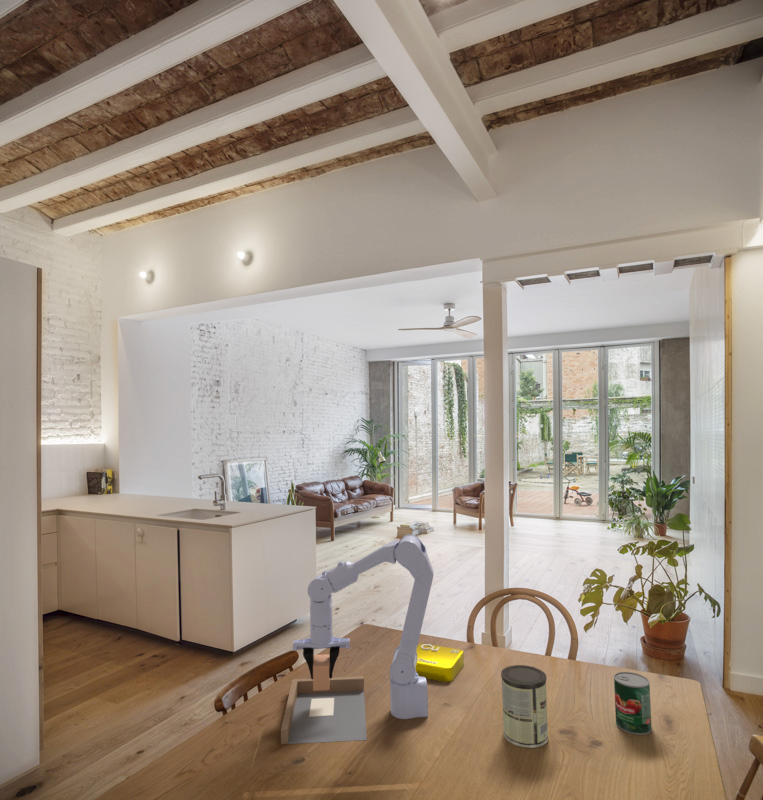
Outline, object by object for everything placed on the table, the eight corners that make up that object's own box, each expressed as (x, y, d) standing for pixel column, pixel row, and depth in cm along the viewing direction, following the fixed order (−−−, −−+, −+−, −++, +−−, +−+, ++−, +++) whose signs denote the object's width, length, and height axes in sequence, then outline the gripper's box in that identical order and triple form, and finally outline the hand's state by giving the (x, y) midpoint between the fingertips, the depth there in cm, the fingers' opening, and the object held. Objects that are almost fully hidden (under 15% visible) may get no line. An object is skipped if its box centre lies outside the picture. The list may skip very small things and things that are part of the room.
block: (329, 690, 138) (328, 665, 138) (313, 690, 138) (312, 666, 138) (330, 677, 145) (329, 654, 145) (314, 678, 145) (314, 654, 145)
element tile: (401, 675, 162) (401, 658, 162) (420, 656, 175) (419, 640, 175) (450, 684, 155) (450, 667, 156) (465, 664, 169) (465, 648, 169)
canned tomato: (652, 722, 133) (650, 675, 134) (651, 738, 126) (649, 689, 127) (617, 714, 137) (615, 669, 138) (613, 729, 130) (612, 682, 131)
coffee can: (505, 721, 135) (503, 662, 135) (549, 728, 131) (547, 667, 132) (500, 744, 125) (498, 680, 126) (547, 752, 121) (545, 686, 122)
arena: (363, 691, 151) (363, 676, 151) (366, 743, 126) (366, 725, 126) (292, 694, 150) (292, 679, 150) (280, 747, 125) (280, 729, 125)
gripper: (349, 617, 147) (349, 669, 146) (294, 619, 146) (295, 671, 145) (349, 626, 140) (349, 681, 139) (291, 628, 139) (292, 683, 138)
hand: (321, 677), depth 142 cm, fingers closed on block, 4 cm apart
